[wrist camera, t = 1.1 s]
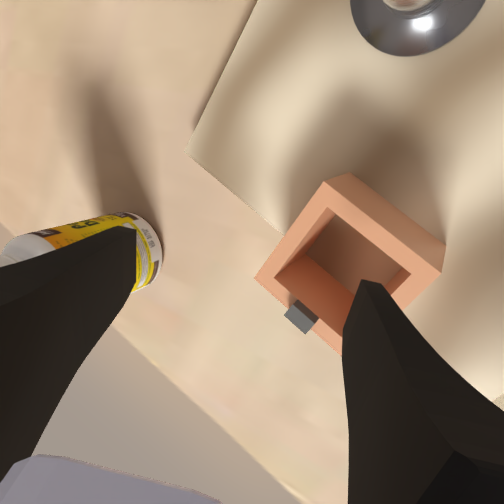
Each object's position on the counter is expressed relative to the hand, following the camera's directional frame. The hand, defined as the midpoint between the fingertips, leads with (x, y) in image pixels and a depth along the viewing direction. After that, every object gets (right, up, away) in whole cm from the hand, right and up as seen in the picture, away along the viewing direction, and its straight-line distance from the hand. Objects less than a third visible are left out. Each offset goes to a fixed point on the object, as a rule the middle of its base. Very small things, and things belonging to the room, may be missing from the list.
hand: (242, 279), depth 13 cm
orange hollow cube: (+6, +1, +7) cm, 9 cm away
